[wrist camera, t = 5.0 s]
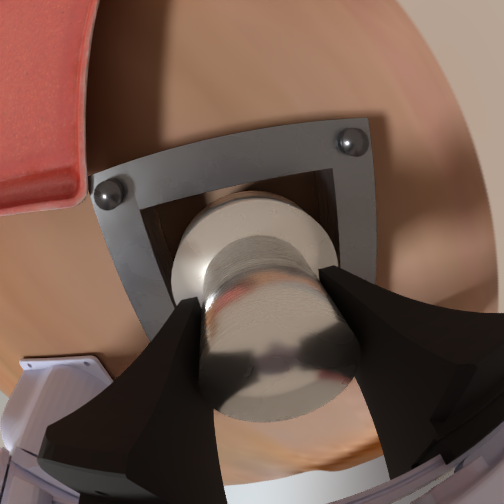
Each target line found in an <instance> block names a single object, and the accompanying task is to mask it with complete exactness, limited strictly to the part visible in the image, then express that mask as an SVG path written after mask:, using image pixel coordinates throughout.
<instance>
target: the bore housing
mask: <svg viewBox="0 0 504 504" xmlns="http://www.w3.org/2000/svg"><path fill="white" fill-rule="evenodd" d="M309 171H314V173H315V180H316V188H317V196H318V205H319V214H320V223H321V227H322V228H323V229H324V230H325V232H326V233H327V234H328V236H329V238H330V240H331V241H332V243H333V246H334V249H335V251H336V256H337V260H338V267H339V268H341V269H344V270H346V271H348V272H350V273H352V274H354V275H356V276H358V277H360V278H362V279H364V280H366V281H368V282H370V283H373V284H375V283H376V255H377V222H376V194H375V178H374V166H373V155H372V146H371V137H370V129H369V122H368V118H350V119H336V120H324V121H314V122H305V123H297V124H289V125H282V126H275V127H269V128H263V129H257V130H251V131H245V132H240V133H235V134H230V135H225V136H221V137H216V138H212V139H207V140H203V141H199V142H195V143H191V144H187V145H183V146H179V147H176V148H172V149H168V150H165V151H161V152H158V153H155V154H151V155H148V156H145V157H142V158H138V159H135V160H132V161H129V162H126V163H123V164H120V165H118V166H115V167H112V168H109V169H106V170H104V171H101V172H98V173H96V174H93V175H91V176H88V190H89V193H90V197H91V200H92V203H93V207H94V210H95V213H96V216H97V219H98V222H99V225H100V228H101V231H102V233H103V236H104V239H105V242H106V244H107V247H108V250H109V252H110V255H111V257H112V260H113V262H114V265H115V267H116V270H117V272H118V275H119V277H120V279H121V282H122V284H123V286H124V289H125V291H126V293H127V295H128V297H129V300H130V302H131V304H132V306H133V308H134V310H135V312H136V314H137V317H138V319H139V321H140V323H141V325H142V327H143V329H144V331H145V332H146V334H147V336H148V338H149V340H150V342H151V341H152V340H153V338H154V337H155V336H156V335H157V333H158V332H159V330H160V329H161V328H162V326H163V325H164V323H165V322H166V321H167V319H168V318H169V316H170V315H171V314H172V312H173V311H174V309H175V308H176V306H177V305H176V303H175V300H174V297H173V293H172V285H171V276H172V268H173V261H172V258H171V255H170V252H169V249H168V245H167V242H166V239H165V236H164V233H163V230H162V226H161V223H160V220H159V216H158V213H157V210H156V206H155V205H158V204H162V203H165V202H169V201H173V200H177V199H181V198H185V197H188V196H193V195H197V194H201V193H205V192H209V191H213V190H218V189H222V188H227V187H231V186H236V185H240V184H245V183H250V182H255V181H260V180H265V179H270V178H275V177H281V176H286V175H292V174H297V173H303V172H309Z"/></svg>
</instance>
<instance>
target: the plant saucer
mask: <svg viewBox="0 0 504 504" xmlns="http://www.w3.org/2000/svg"><path fill="white" fill-rule="evenodd" d="M99 2H100V0H0V216H7V215H16V214H20V213H30V212H36V211H48V210H54V209H64V208H71V207H75V206H78V205H79V204H80V203H81V202H83V201H84V200H85V198H86V196H87V194H88V173H87V156H86V93H87V78H88V67H89V59H90V51H91V44H92V37H93V31H94V26H95V20H96V15H97V11H98V6H99Z"/></svg>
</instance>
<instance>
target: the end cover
mask: <svg viewBox="0 0 504 504" xmlns="http://www.w3.org/2000/svg"><path fill="white" fill-rule="evenodd" d="M333 265H334V266H337V267H338V260H337V256H336V251H335V249H334V246H333V243H332V241H331V240H330V238H329V236H328V234H327V233H326V232H325V230H324V229H323V228H322V227H321V226H320V225H319V224H318V223H317V222H316V221H315V220H314V219H313V218H312V217H311V216H310V215H308V214H307V213H306V212H305V211H304V210H303V209H302V208H301V207H300V206H298V205H297V204H295V203H294V202H292V201H291V200H289V199H287V198H285V197H283V196H280V195H277V194H274V193H269V192H263V191H244V192H238V193H234V194H230V195H227V196H224V197H222V198H219V199H218V200H216V201H214V202H212V203H210V204H209V205H208V206H206V207H205V208H203V209H202V210H201V211H200V212H199V213H198V214H197V215H196V216H195V217H194V218H193V219H192V221H191V222H190V223H189V225H188V226H187V228H186V230H185V232H184V233H183V236H182V238H181V241H180V244H179V247H178V250H177V253H176V256H175V260H174V263H173V268H172V276H171V285H172V293H173V297H174V300H175V303H176V305H178V304H179V302H180V301H181V300H183V299H188V298H193V297H198V300H199V303H200V306H201V309H202V312H201V331H200V354H199V387H200V390H201V393H202V395H203V397H204V399H205V400H206V401H207V402H208V403H209V405H211V406H212V407H213V408H214V409H215V410H217V411H219V412H220V413H222V414H224V415H226V416H229V417H232V418H235V419H238V420H243V421H249V422H276V421H283V420H288V419H292V418H296V417H299V416H302V415H305V414H307V413H310V412H312V411H314V410H316V409H318V408H320V407H322V406H324V405H325V404H327V403H328V402H330V401H331V400H333V399H334V398H335V397H336V396H338V395H339V394H340V393H341V392H342V391H343V390H344V389H345V388H346V387H347V386H348V384H349V383H350V382H351V380H352V379H353V377H354V375H355V374H356V372H357V369H358V367H359V363H360V357H361V351H360V345H359V342H358V340H357V338H356V337H355V335H354V333H353V332H352V330H351V329H350V327H349V325H348V324H347V322H346V321H345V319H344V318H343V316H342V314H341V313H340V311H339V310H338V308H337V307H336V305H335V304H334V302H333V300H332V299H331V297H330V296H329V294H328V293H327V291H326V290H325V288H324V287H323V285H322V284H321V282H320V281H319V271H318V269H321V268H325V267H329V266H333Z"/></svg>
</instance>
